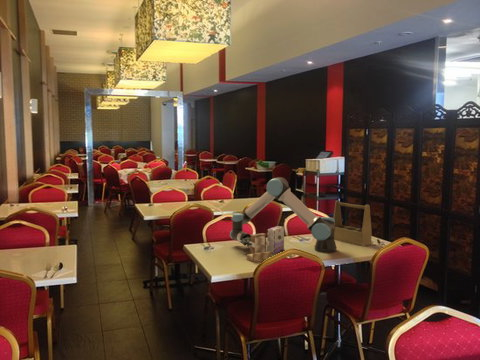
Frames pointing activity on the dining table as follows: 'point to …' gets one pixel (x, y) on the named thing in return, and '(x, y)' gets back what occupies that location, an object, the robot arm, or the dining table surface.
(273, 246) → the candy box
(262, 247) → the wooden block
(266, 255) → the ledge
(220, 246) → the dining table surface
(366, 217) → the caddy
